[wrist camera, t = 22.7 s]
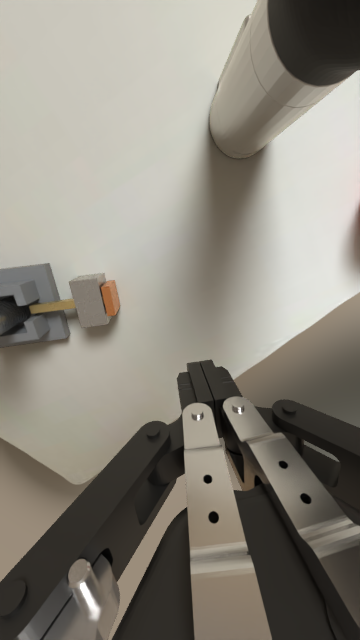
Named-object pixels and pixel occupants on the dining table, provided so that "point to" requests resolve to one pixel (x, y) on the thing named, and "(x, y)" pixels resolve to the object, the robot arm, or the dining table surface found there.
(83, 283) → the block
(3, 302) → the cylinder
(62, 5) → the dining table surface
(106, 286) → the lock pin
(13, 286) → the socket
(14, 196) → the dining table surface
